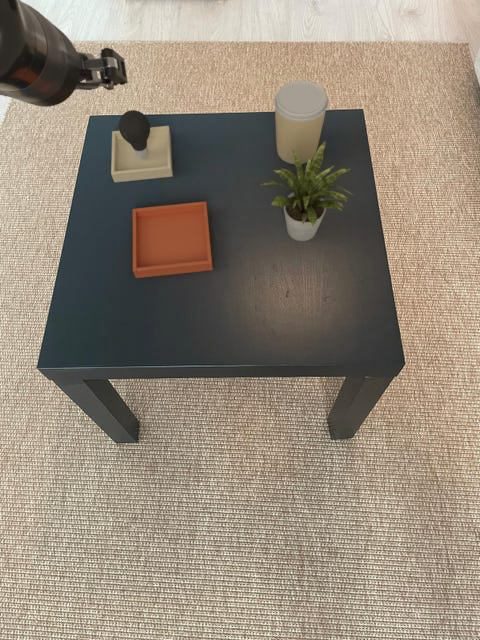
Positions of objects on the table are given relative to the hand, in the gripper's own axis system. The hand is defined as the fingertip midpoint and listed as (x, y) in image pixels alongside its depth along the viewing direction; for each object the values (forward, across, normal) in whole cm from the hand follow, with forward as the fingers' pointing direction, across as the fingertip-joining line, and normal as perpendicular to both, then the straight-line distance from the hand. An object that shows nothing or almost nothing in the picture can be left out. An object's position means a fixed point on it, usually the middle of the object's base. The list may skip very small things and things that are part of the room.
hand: (74, 84), depth 58 cm
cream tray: (+35, -2, +8) cm, 36 cm away
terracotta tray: (+20, -7, +23) cm, 31 cm away
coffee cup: (+34, -32, +10) cm, 47 cm away
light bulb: (+34, -2, +8) cm, 36 cm away
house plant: (+19, -29, +24) cm, 42 cm away
